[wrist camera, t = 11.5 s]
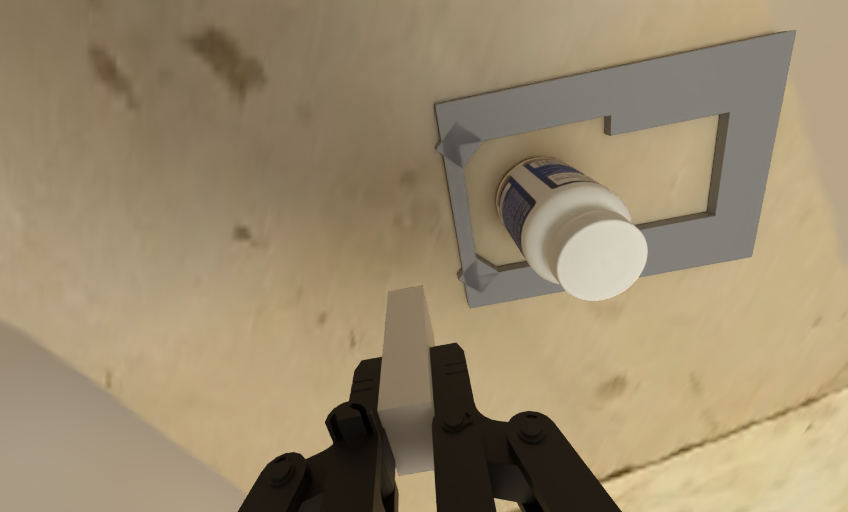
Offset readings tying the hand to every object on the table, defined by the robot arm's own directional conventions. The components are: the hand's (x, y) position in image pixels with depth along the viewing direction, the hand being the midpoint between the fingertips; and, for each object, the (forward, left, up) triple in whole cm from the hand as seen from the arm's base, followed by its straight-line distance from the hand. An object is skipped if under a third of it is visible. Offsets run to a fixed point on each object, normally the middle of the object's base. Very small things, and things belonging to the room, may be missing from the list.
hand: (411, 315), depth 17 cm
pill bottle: (-1, +9, -10) cm, 13 cm away
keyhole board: (0, +13, -10) cm, 17 cm away
